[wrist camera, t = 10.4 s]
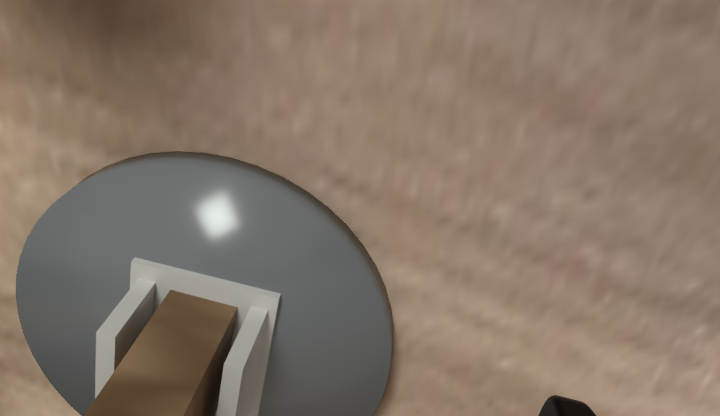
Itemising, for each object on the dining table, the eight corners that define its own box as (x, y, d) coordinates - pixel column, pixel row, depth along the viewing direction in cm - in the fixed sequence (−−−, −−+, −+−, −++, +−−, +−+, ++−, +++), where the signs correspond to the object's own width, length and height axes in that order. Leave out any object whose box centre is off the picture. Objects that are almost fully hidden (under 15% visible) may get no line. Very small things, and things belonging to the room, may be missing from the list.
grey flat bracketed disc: (436, 208, 21) (433, 284, 17) (351, 486, 28) (335, 588, 24) (28, 107, 21) (-70, 159, 17) (39, 407, 28) (-29, 495, 24)
